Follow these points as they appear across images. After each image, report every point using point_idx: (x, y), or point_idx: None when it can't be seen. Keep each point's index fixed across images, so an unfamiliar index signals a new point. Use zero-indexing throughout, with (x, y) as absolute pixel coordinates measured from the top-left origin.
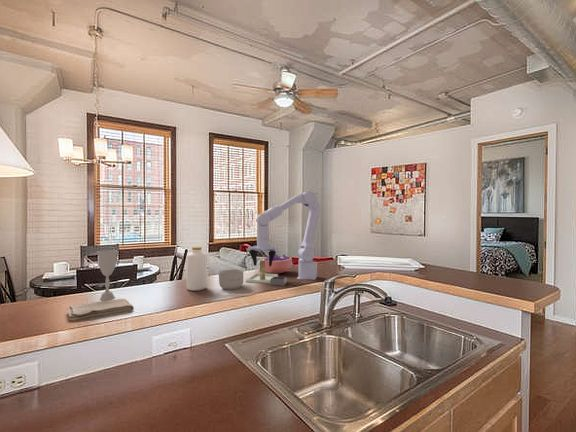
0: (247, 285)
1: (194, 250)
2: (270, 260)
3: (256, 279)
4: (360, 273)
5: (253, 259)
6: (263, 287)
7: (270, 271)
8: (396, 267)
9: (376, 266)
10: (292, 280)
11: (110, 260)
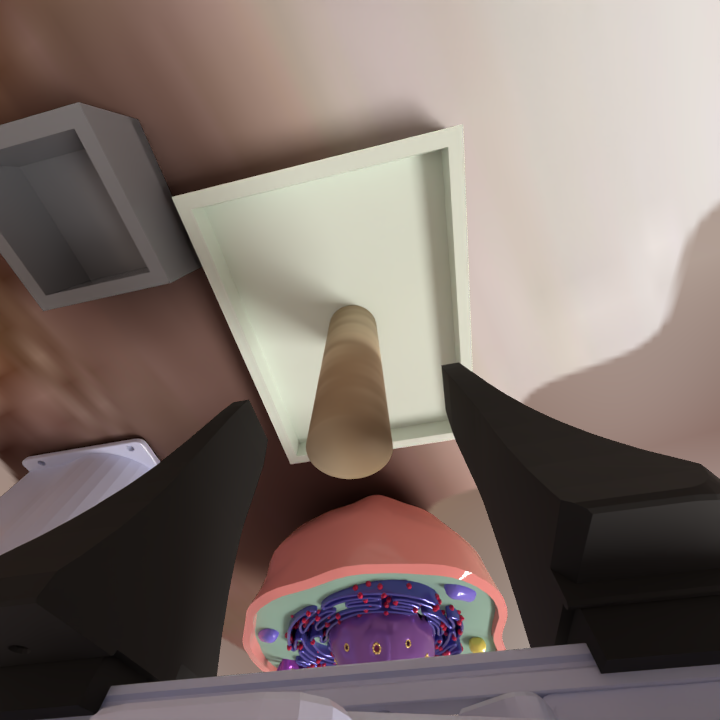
0: (383, 27)
1: None
2: (181, 452)
3: (396, 295)
4: None
5: (499, 402)
6: (160, 17)
7: (378, 498)
8: None
9: None
10: (154, 411)
11: None
